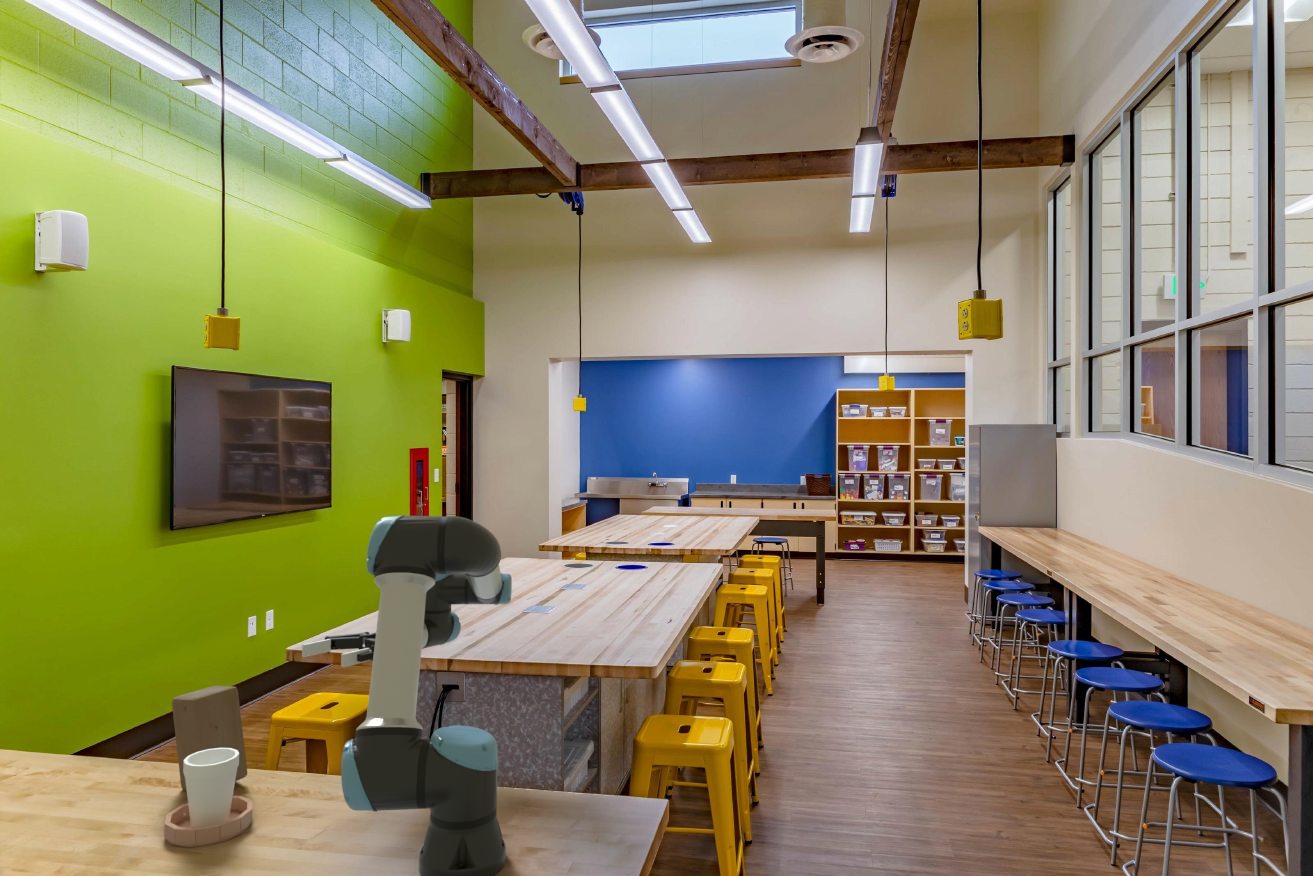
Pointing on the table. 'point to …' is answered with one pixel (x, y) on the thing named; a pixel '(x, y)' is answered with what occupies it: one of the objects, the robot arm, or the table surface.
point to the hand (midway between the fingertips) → (322, 655)
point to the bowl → (185, 836)
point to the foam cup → (210, 785)
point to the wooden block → (208, 724)
